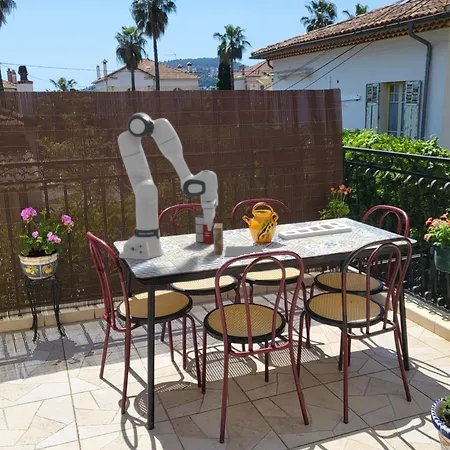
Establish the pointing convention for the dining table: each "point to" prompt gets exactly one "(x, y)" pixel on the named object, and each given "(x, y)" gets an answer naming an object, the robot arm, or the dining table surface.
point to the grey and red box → (203, 230)
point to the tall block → (218, 238)
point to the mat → (242, 250)
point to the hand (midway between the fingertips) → (210, 228)
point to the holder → (309, 231)
